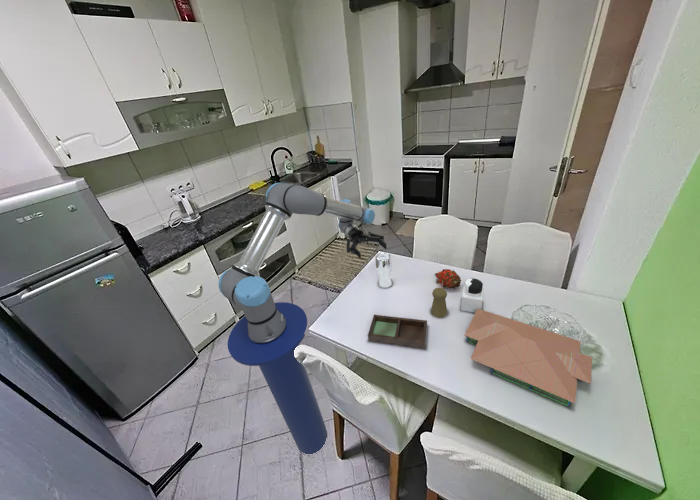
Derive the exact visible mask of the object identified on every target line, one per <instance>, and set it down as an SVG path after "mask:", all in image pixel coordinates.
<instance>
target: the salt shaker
mask: <svg viewBox="0 0 700 500" xmlns="http://www.w3.org/2000/svg"><path fill="white" fill-rule="evenodd" d="M431 294H432V297H433V300H432V304H431V309H430V314H431V316H433V317H435V318H441V319H442V318H445V317H446V316H447V315H448V309H447V301H446V300H447V296H448V292H447V290H446V289H445V288H444V287H439V286H438V287H435V288H434V289H433V290H432V293H431Z"/></svg>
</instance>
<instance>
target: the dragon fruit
mask: <svg viewBox="0 0 700 500" xmlns="http://www.w3.org/2000/svg"><path fill="white" fill-rule="evenodd" d="M434 276H435V278H436V281H435V282H436V284H437V285H438V284H442V288H443V289H445V288H446V289H455V288H459V287H461V282H462V279H461V276H460V275H459V274H458V273H457V272H456V271H455V270H454V269H452V270H451V269H449V268H446V269H445V268H443V269H442V270H440V271H438V272H435V273H434Z"/></svg>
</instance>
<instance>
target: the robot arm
mask: <svg viewBox="0 0 700 500" xmlns="http://www.w3.org/2000/svg"><path fill="white" fill-rule="evenodd" d="M265 201H266V202H265V204H264V208H265V212H264V214H263V216H262V218H261V220H260V222H259V223H258V226H257V227H256V229H255V231H254V232H253V235H252V236H251V239H250V240H249V242H248V244H247V246H246V248H245V250H244V252H243V254H242V255H241V257H240V259H239V261H237V262H235V263H233V264H232V266H230V268H229V269H227V270H225V271H223V272H222V273H221V275H220V277H219V278H218V284H217V285H218V286H217V287H218V289H219V291H220V293H221V294H222V296H223V297H224V298H226V299H228V300H229V301H230V302H232V303H233V304H234V305H236V306H237V307H238V308H240V309H241V311H242V312H243V314H244V316H245V317H246V319H247V321H248V335H249V338H250V340H251V341H252V342H254V343H256V344H267V343H270V342H272V341H274V340H276V339H278V338H279V337H280V336H281V335H282V334H283V333H284V331H285V330H286V326H287V323H286V320H285V318H284V316H283V314H282V313H280V312H279V311H278V310H277V308H276V306H275V303H276V302H275V300H274V297H273V295H272V292H271V288H270V285H269V283H268V282H267V281H266V280H265V278H263V277H261V275H260V269H261V267H262V265H263V264H264V261H265V260H266V258H267V255H268V254H269V251H270V250H271V248H272V246H273V244H274V242H275V241H276V239H277V236H278V235H279V232H280V231H281V229H282V226H283V225H284V223H285V221H288V220H290V219H291V218H292V215H293V214H296V215H306V216H307V215H308V216H315V217H316V216H317V217H320V216H322V215H324V216H329V217H334V218H338V219H339V221H338V228H339V230H340V231H341V233H343V234H344V235H345V236H346V237H347V238H346V253H347V254H349V253H351V254H352V255H356V256H357V257H358V258H359V259H361V258H362V255H361V252H360V251H359V250H358V249H357V246H358V245H359V244H362V243H368V242H370V243H371V242H373V243H378V245H380V246H381V247H382V248H383V249H385V250H387V248H388V247H387V243H386V241H385V235H383V234H378V233H374V232H371V231H368V232H367V233H364V231H363V230H362V229H361V228H359V227H358V226H357V225H356V224H355V222H360V223H363V224H369V225H370V224H372V223H373V222H374V221H375V217H376V213H375V210H374V209H372V208H369V207H365V206H359V205H357V204H353V203H352V202H351V200H350V199H347V198H343V199H340V200H338V199H334V198H330V197H327V196H326V195H325V194H324V193H321V192H318V191H315V190H313V189H310V188H308V187H306V186H303V185H299V184H294V183H293V184H292V183H288V182H275V183H273V184H271V185H270V186H269V187H268V188H267V190H266V193H265ZM354 221H355V222H354Z"/></svg>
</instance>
